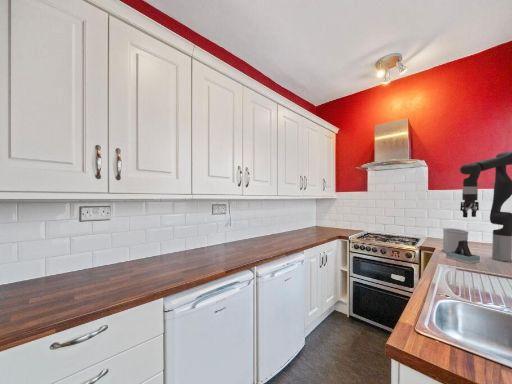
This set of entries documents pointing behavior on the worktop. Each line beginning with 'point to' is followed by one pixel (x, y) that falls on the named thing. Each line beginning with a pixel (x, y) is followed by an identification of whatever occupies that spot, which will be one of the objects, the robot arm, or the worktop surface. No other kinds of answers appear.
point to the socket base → (463, 257)
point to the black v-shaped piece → (463, 246)
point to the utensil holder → (453, 238)
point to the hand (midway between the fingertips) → (469, 217)
